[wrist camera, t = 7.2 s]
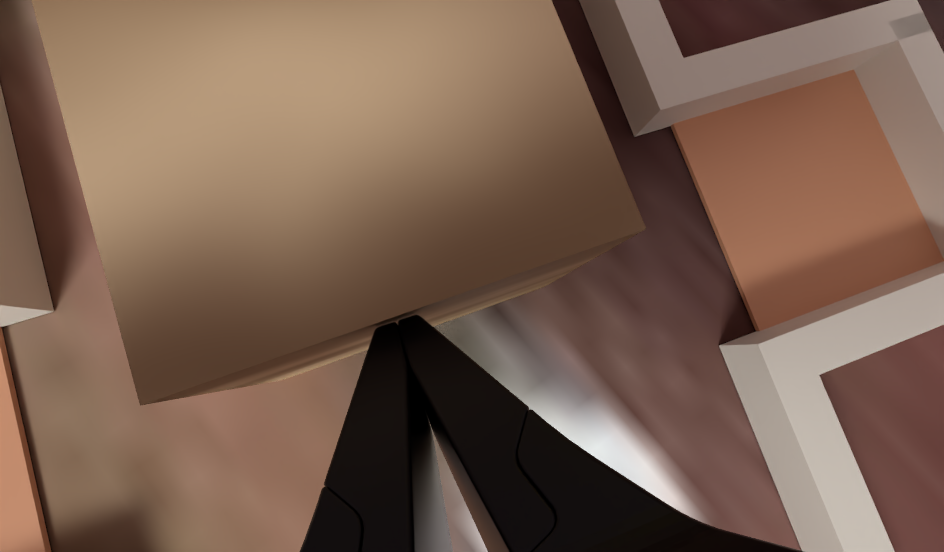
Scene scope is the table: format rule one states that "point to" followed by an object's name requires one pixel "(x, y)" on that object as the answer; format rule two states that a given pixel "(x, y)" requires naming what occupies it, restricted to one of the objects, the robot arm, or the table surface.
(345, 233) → the oak block
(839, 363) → the white flat frame
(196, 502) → the table surface
